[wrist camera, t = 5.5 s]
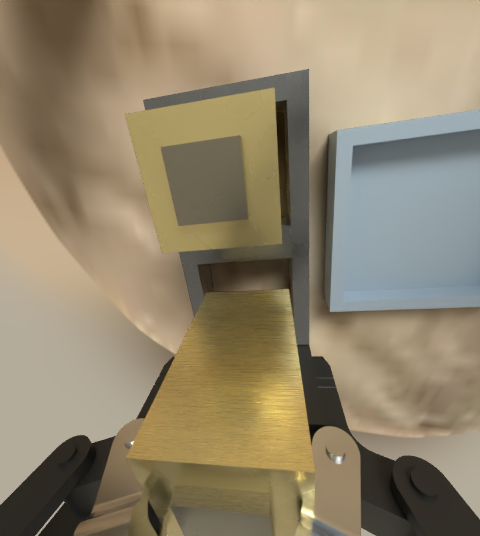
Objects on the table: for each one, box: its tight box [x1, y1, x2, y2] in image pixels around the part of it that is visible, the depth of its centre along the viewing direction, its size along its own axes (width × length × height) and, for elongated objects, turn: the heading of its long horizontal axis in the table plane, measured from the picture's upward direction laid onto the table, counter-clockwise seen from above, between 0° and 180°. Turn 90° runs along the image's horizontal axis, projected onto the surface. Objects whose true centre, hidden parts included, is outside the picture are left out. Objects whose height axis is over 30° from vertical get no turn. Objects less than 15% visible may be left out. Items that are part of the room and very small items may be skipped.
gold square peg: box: [126, 289, 315, 536], centre depth 10 cm, size 4×4×8 cm
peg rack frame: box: [143, 69, 309, 345], centre depth 15 cm, size 8×16×2 cm, turn 6°
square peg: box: [125, 88, 282, 253], centre depth 11 cm, size 4×4×8 cm
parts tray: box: [324, 110, 480, 312], centre depth 14 cm, size 11×11×2 cm
